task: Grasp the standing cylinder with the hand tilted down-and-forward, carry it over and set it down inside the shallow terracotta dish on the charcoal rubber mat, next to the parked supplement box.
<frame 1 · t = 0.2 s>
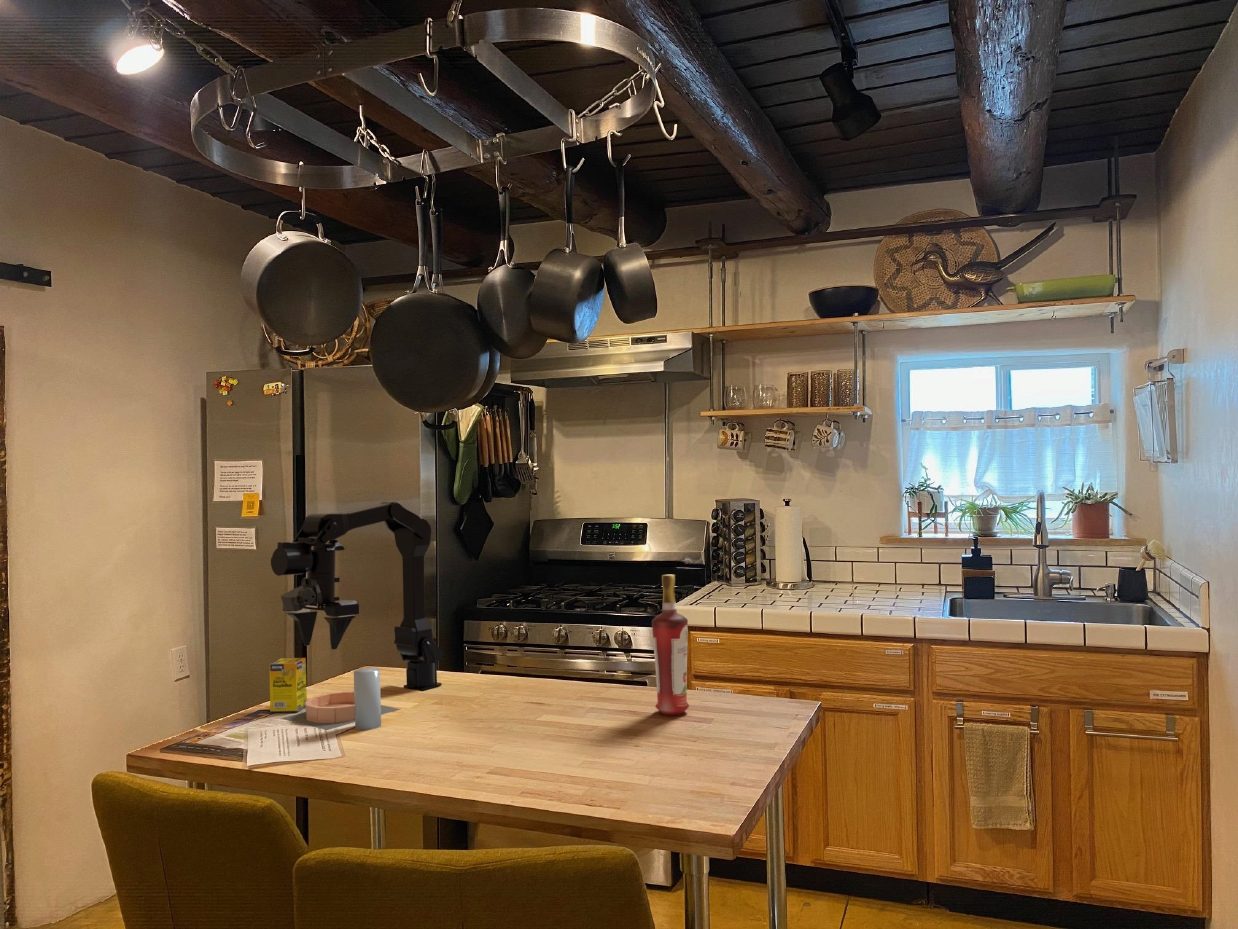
hand: (320, 647, 191), 14 cm above the table, tool pointing down, fingers open, 9 cm apart
dish: (341, 713, 190), resting on mat
mat: (341, 715, 190), on the table
liquor: (672, 713, 185), on the table
cylinder: (368, 728, 180), on the table
supplement box: (289, 712, 195), on the table
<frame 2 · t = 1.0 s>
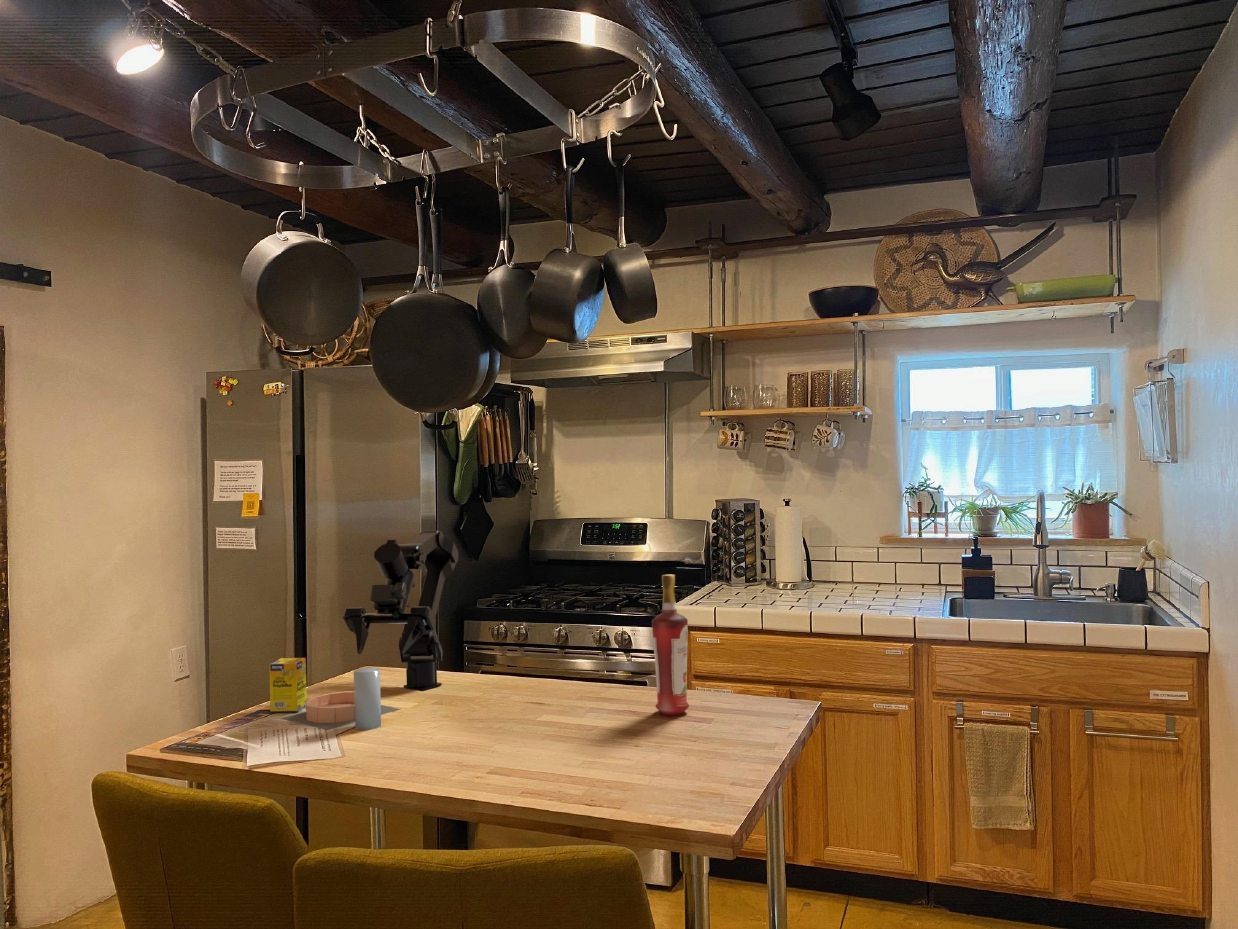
hand: (380, 653, 188), 13 cm above the table, tool tilted 45°, fingers open, 9 cm apart
nothing on the table moved.
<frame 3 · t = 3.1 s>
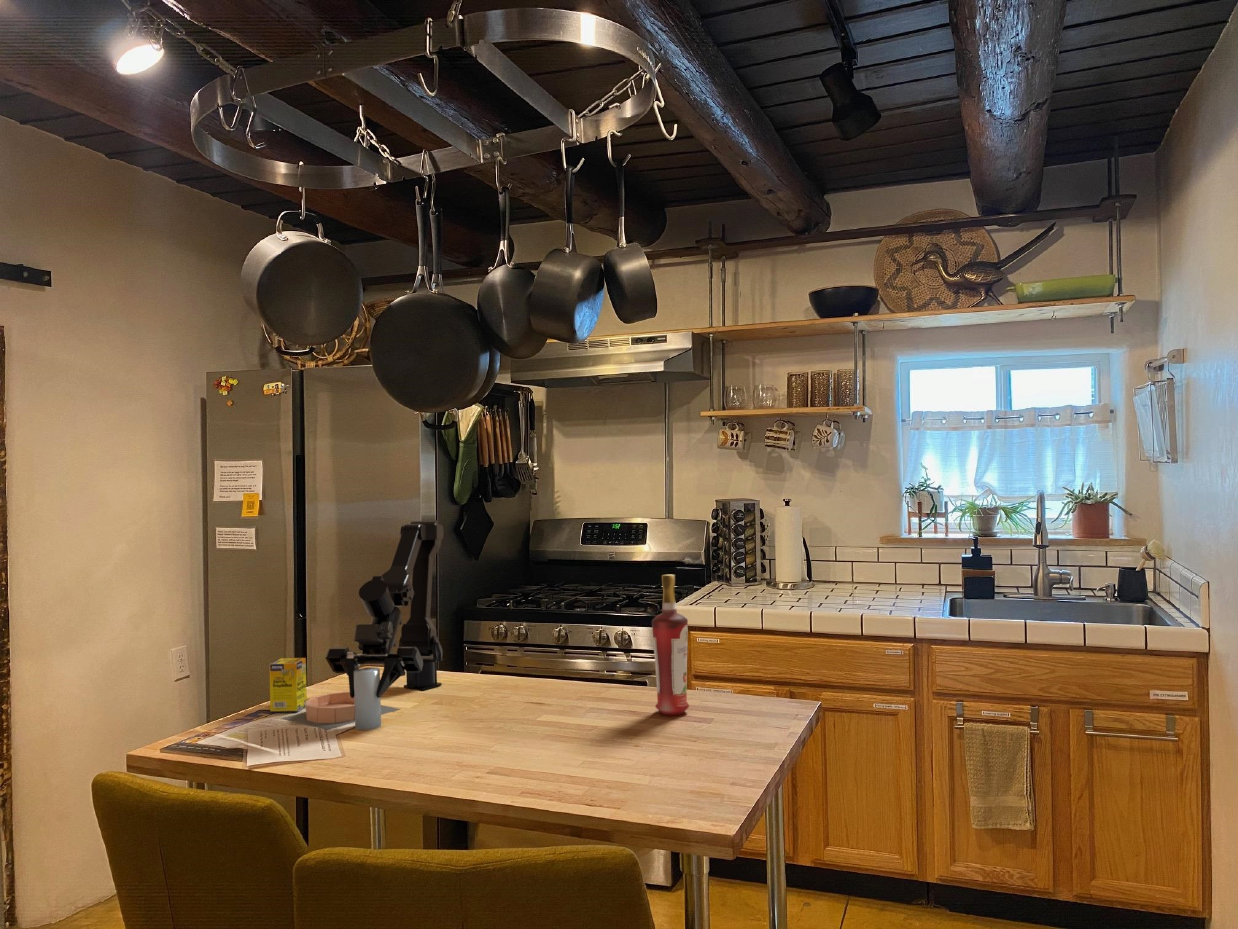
hand: (364, 696, 179), 7 cm above the table, tool tilted 45°, fingers closed on cylinder, 5 cm apart
cylinder: (368, 728, 180), on the table, touching gripper
everything else where it was.
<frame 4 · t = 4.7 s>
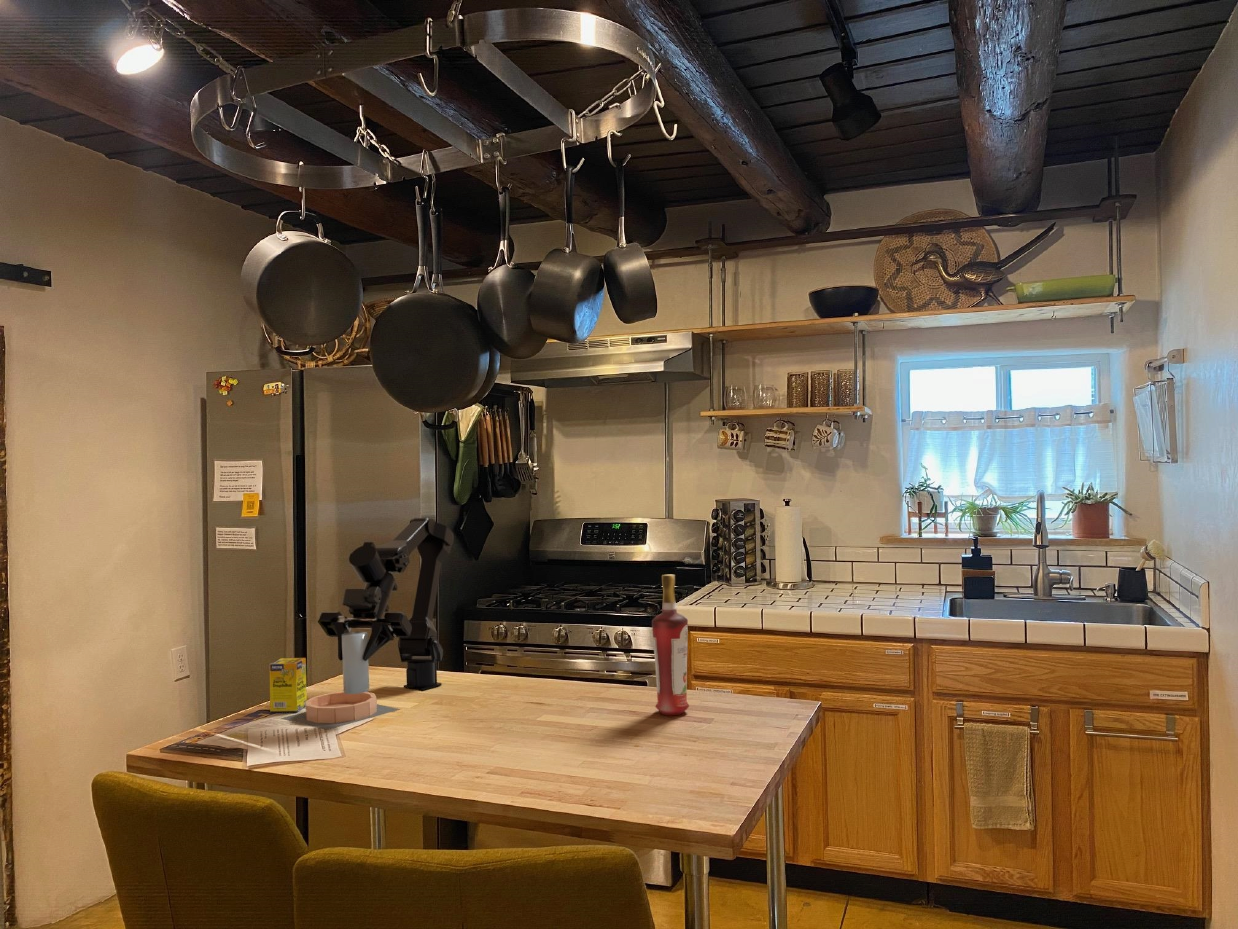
hand: (352, 659, 182), 13 cm above the table, tool tilted 45°, fingers closed on cylinder, 5 cm apart
cylinder: (356, 690, 183), point 7 cm above the table, touching gripper
everything else where it was.
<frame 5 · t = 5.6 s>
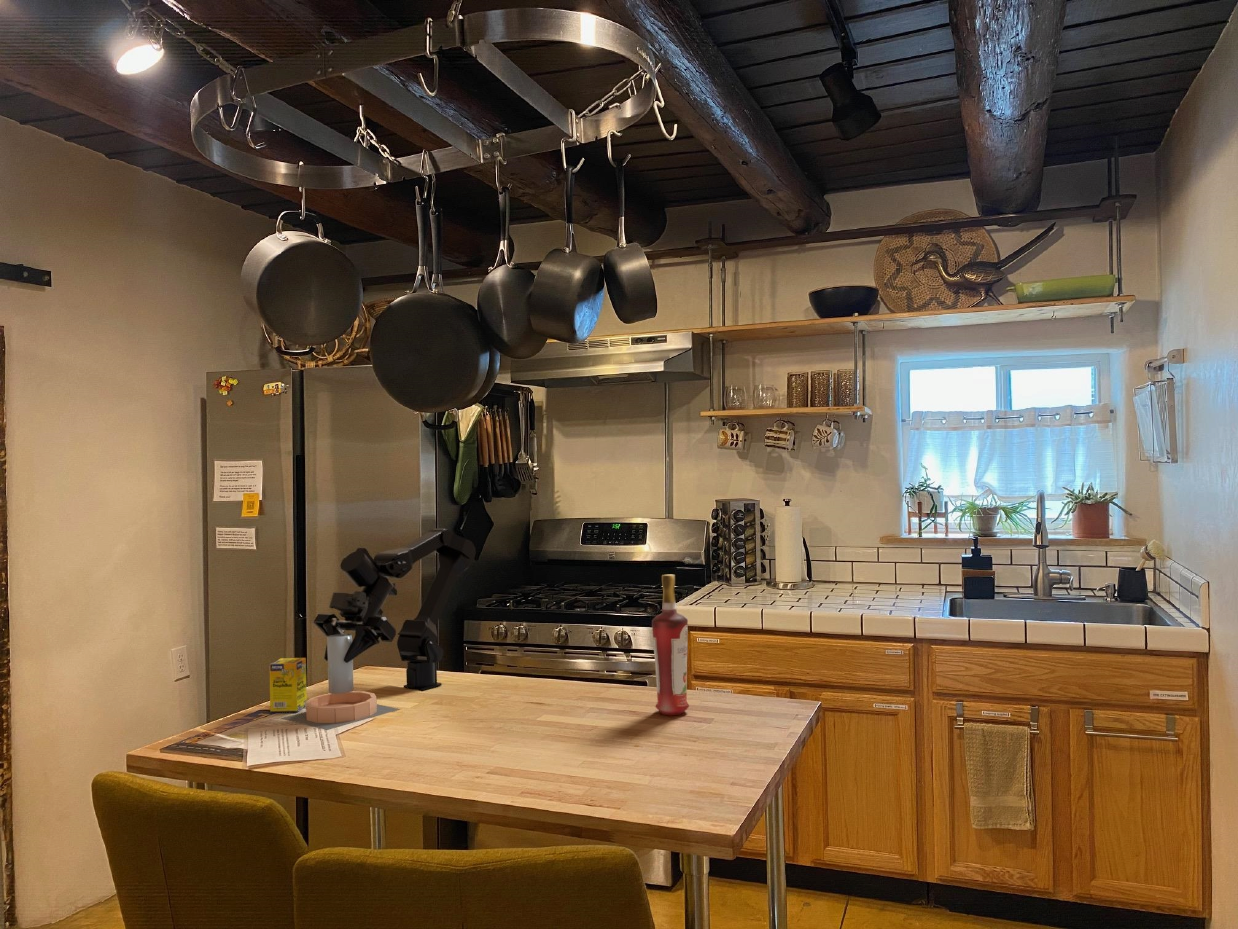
hand: (335, 660, 189), 12 cm above the table, tool tilted 45°, fingers closed on cylinder, 5 cm apart
cylinder: (341, 690, 191), point 5 cm above the table, touching gripper
everything else where it was.
when the fingers open (9 cm above the table, at t = 6.4 s): cylinder drops 1 cm, resting on dish.
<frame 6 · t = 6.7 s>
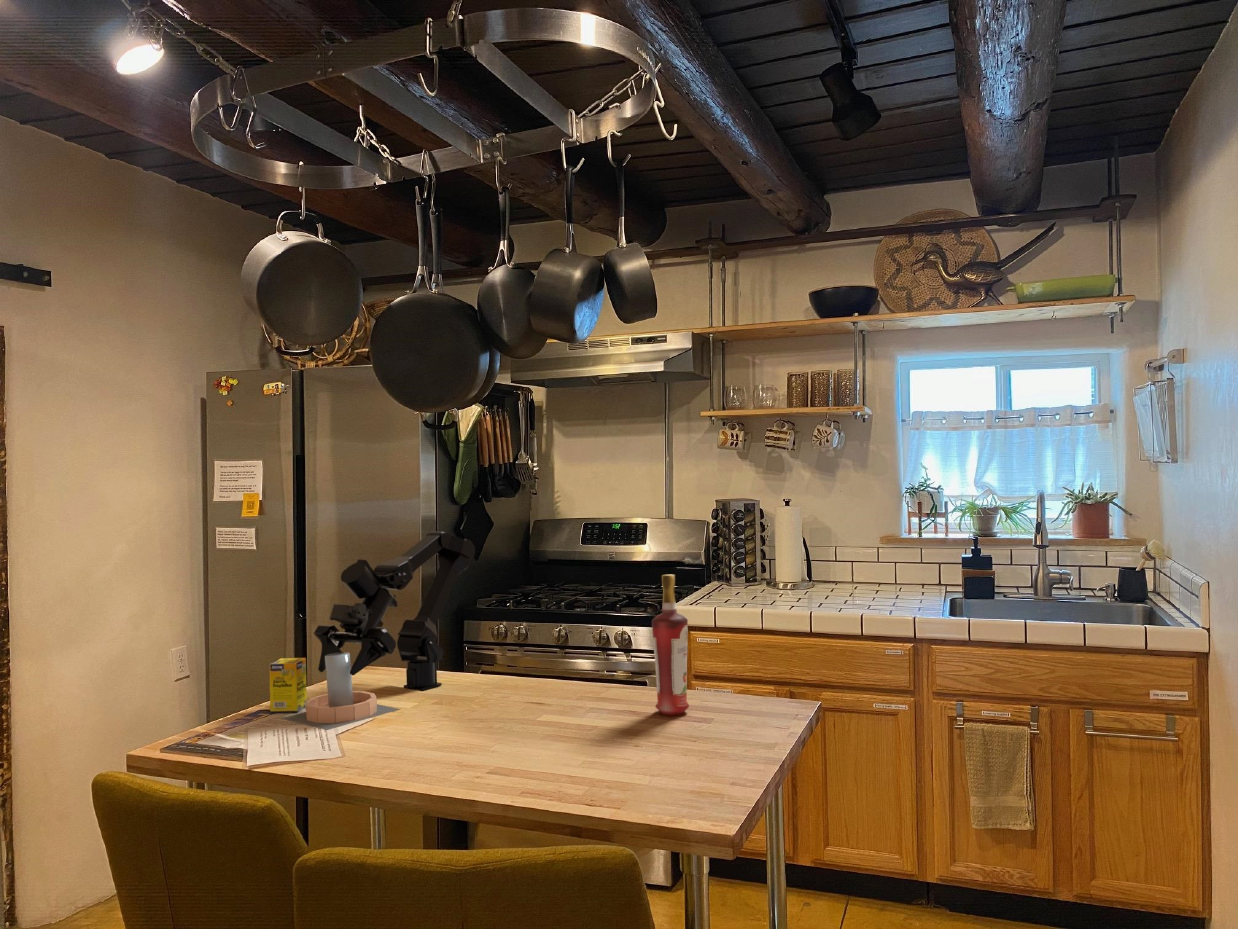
hand: (335, 672, 189), 9 cm above the table, tool tilted 45°, fingers open, 8 cm apart
cylinder: (341, 709, 190), point 1 cm above the table, touching dish
everything else where it was.
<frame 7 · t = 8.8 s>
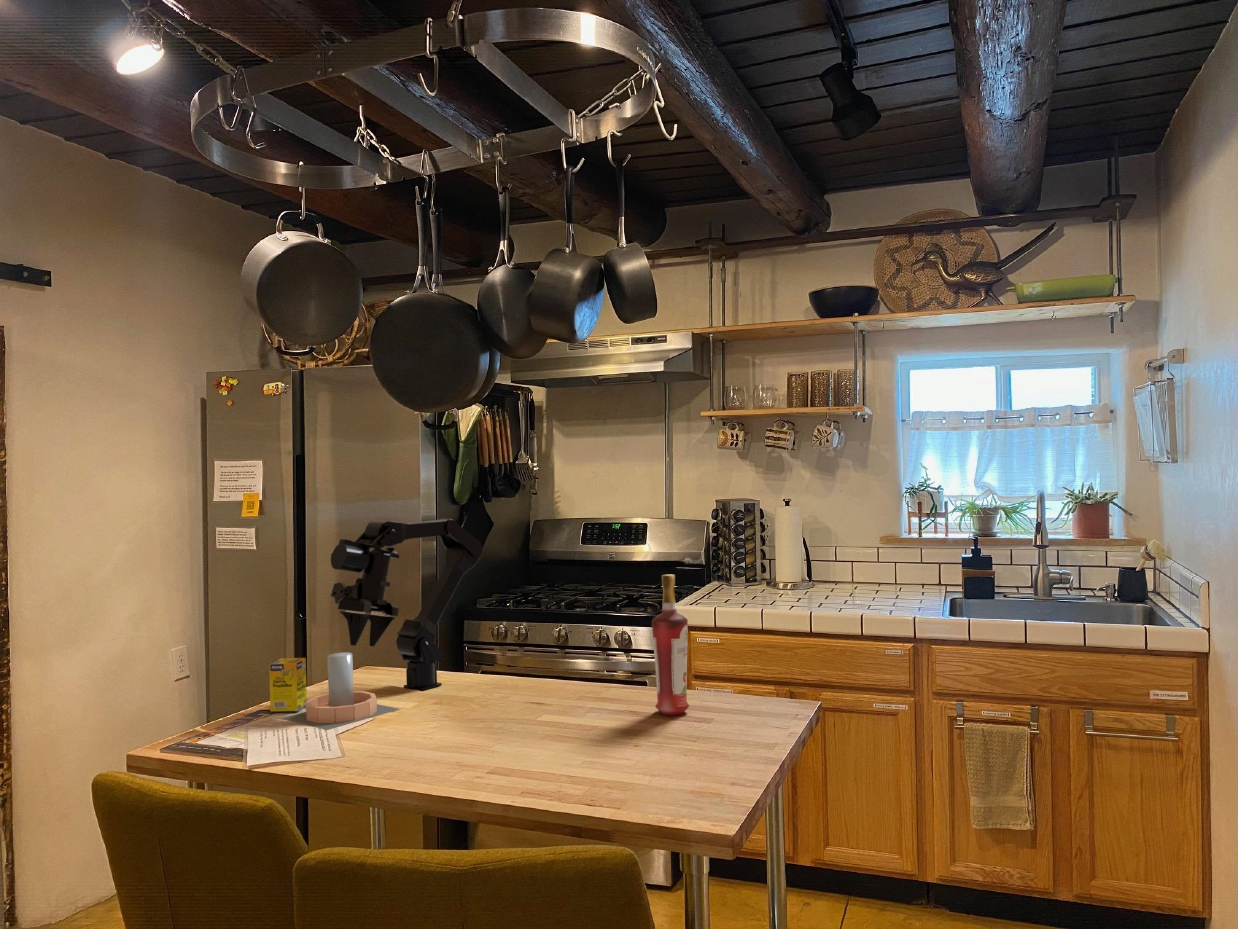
hand: (362, 645, 202), 12 cm above the table, tool pointing down, fingers open, 9 cm apart
nothing on the table moved.
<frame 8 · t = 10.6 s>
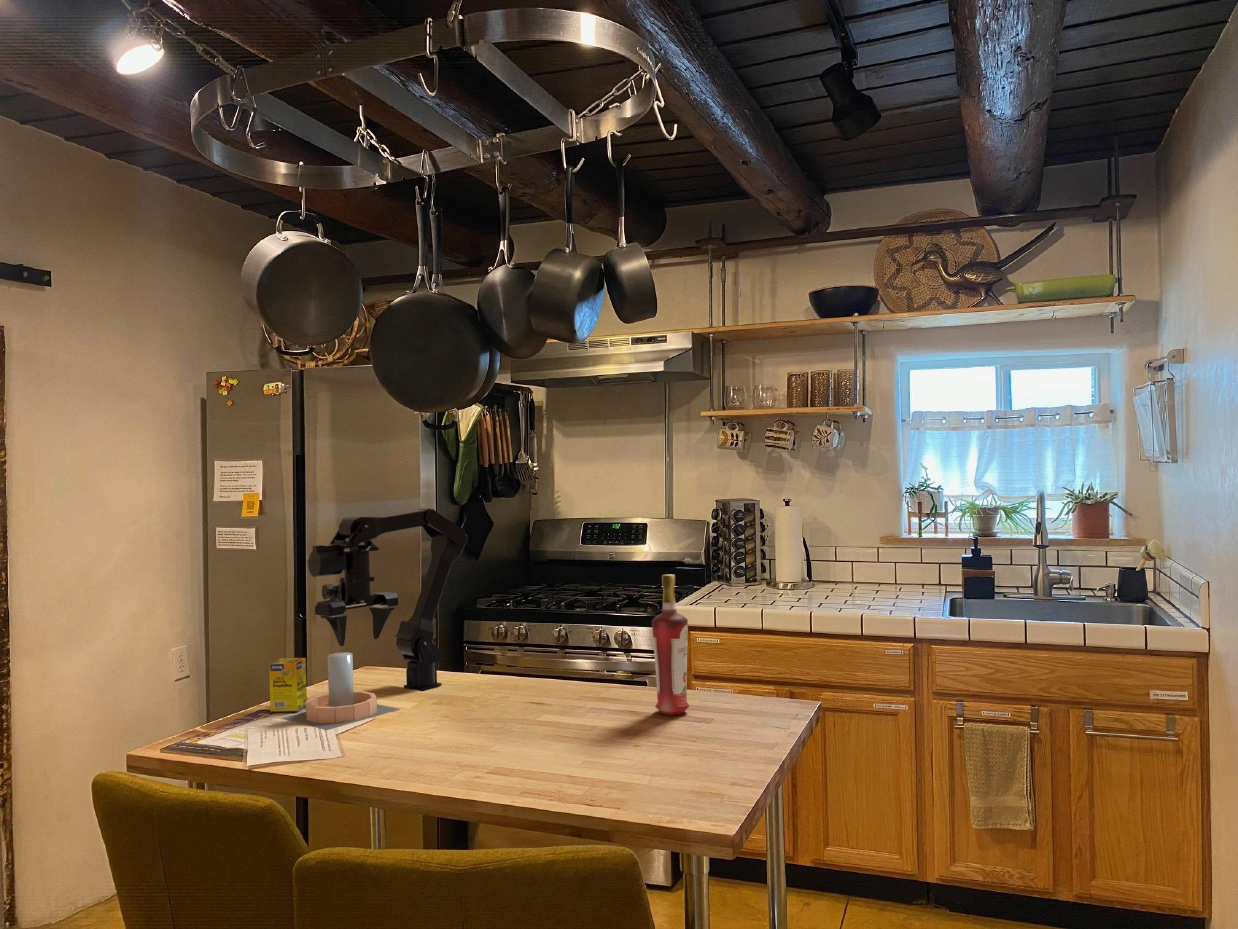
hand: (359, 642, 203), 13 cm above the table, tool pointing down, fingers open, 9 cm apart
nothing on the table moved.
at the end: cylinder 0.1 cm from the dish (horizontally); cylinder point 1.2 cm above the table; the gripper is holding nothing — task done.
